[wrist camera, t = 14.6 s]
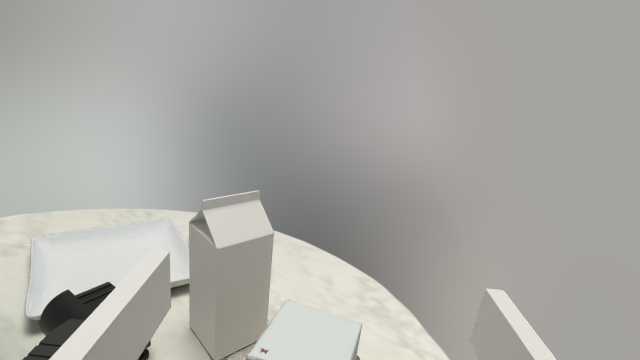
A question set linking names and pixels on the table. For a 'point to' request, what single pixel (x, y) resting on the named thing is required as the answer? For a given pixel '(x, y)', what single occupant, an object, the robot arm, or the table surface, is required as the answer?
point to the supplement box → (307, 336)
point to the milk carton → (229, 272)
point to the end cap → (76, 308)
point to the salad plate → (99, 258)
